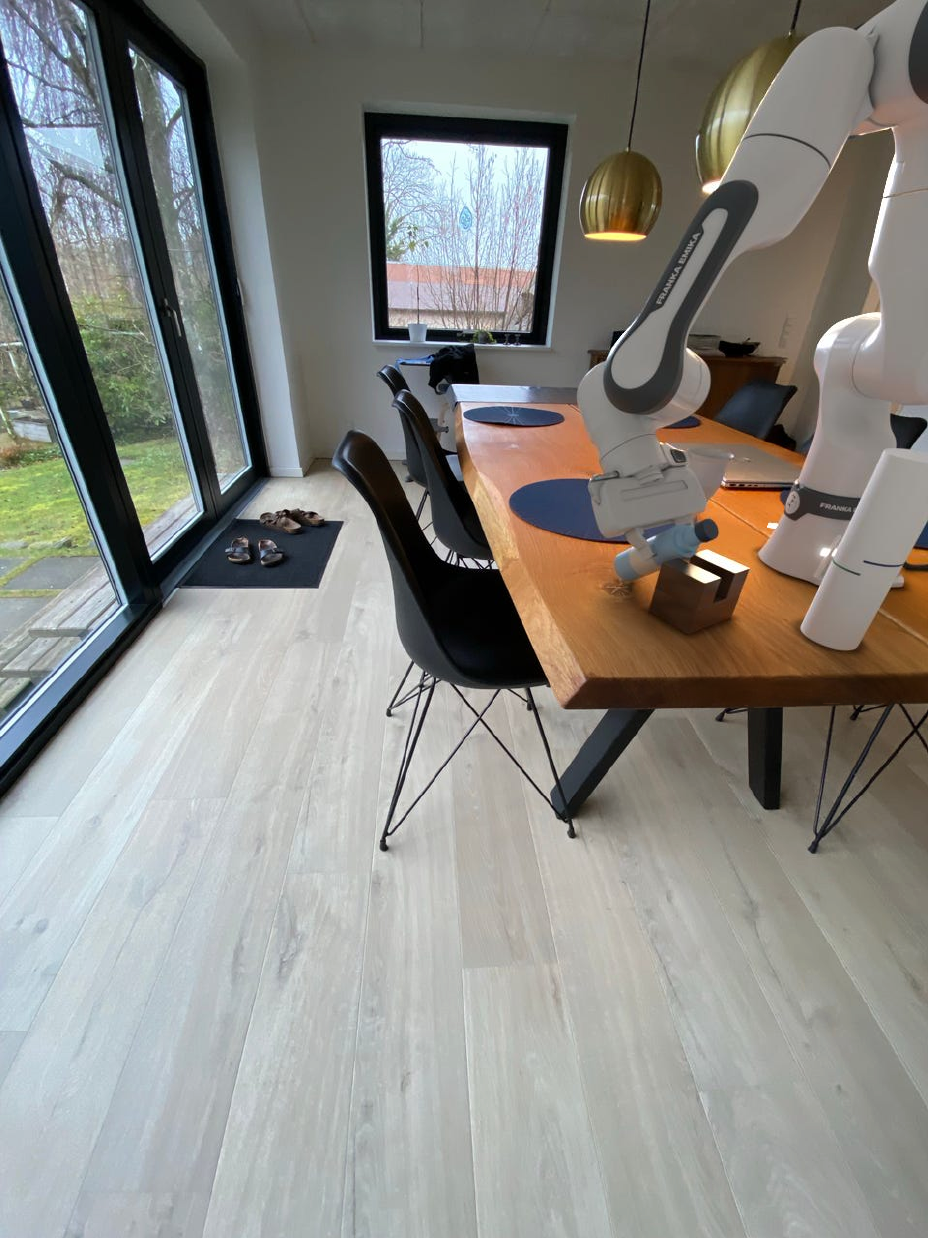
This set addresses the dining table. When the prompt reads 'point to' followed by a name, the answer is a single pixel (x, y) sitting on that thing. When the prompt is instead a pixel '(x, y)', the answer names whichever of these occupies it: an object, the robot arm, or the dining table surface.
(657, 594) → the block
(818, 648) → the dining table surface
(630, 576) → the bottle
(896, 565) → the cylindrical container
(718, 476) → the chalice
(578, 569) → the dining table surface
